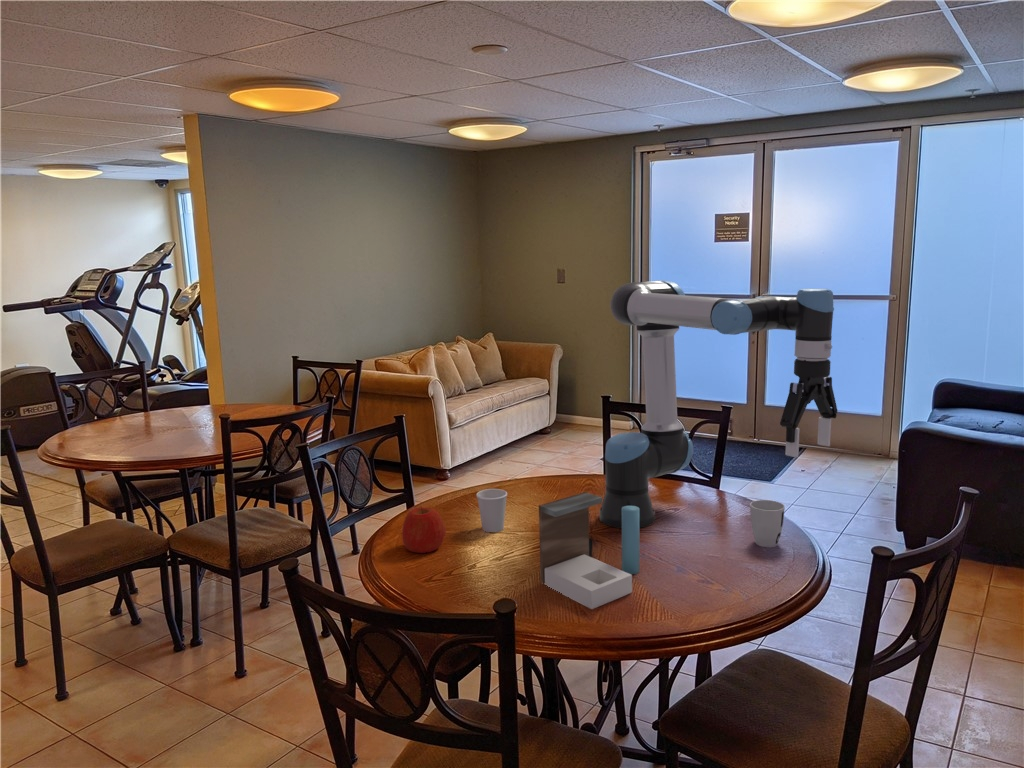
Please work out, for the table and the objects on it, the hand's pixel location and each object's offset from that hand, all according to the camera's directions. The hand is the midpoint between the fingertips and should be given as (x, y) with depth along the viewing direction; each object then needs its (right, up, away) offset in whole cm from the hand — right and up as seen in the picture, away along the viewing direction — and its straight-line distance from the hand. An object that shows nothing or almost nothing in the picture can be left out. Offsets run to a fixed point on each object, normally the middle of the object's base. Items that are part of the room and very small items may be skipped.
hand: (808, 450), depth 169 cm
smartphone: (-51, -27, +15) cm, 60 cm away
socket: (-51, -30, -7) cm, 59 cm away
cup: (-4, -25, +15) cm, 30 cm away
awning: (-54, -29, -1) cm, 61 cm away
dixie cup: (-73, -24, +31) cm, 83 cm away
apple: (-90, -27, +19) cm, 96 cm away
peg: (-40, -28, +2) cm, 49 cm away
